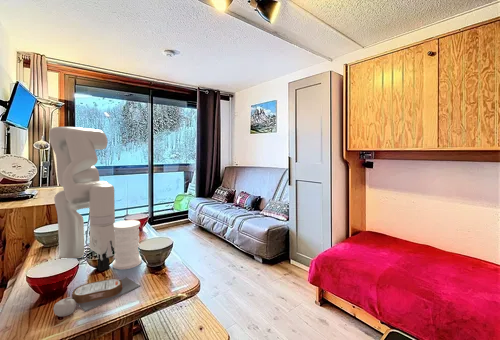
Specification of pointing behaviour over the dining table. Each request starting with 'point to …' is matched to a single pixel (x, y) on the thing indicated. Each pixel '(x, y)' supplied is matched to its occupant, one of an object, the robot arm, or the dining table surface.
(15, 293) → the dining table surface
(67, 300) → the garlic
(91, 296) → the tin
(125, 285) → the mat
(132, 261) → the decorative container
